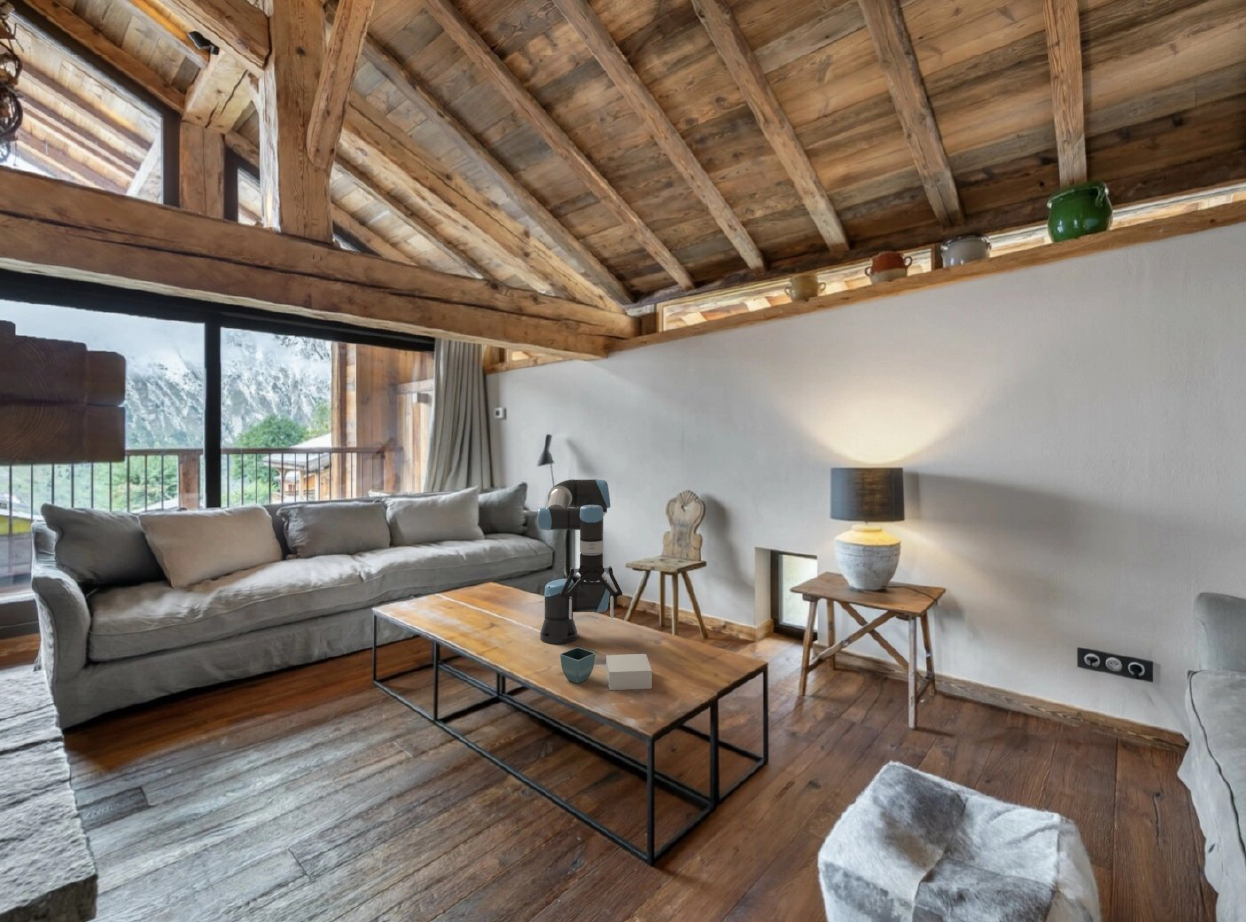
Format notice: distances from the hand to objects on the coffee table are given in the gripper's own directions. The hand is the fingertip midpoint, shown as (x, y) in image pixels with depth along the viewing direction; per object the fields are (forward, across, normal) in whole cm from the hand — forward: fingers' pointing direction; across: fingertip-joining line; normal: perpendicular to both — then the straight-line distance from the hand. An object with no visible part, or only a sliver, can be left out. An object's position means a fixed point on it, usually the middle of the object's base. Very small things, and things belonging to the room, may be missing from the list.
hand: (591, 617), depth 181 cm
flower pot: (+24, -4, +6) cm, 25 cm away
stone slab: (+23, +13, +4) cm, 27 cm away
